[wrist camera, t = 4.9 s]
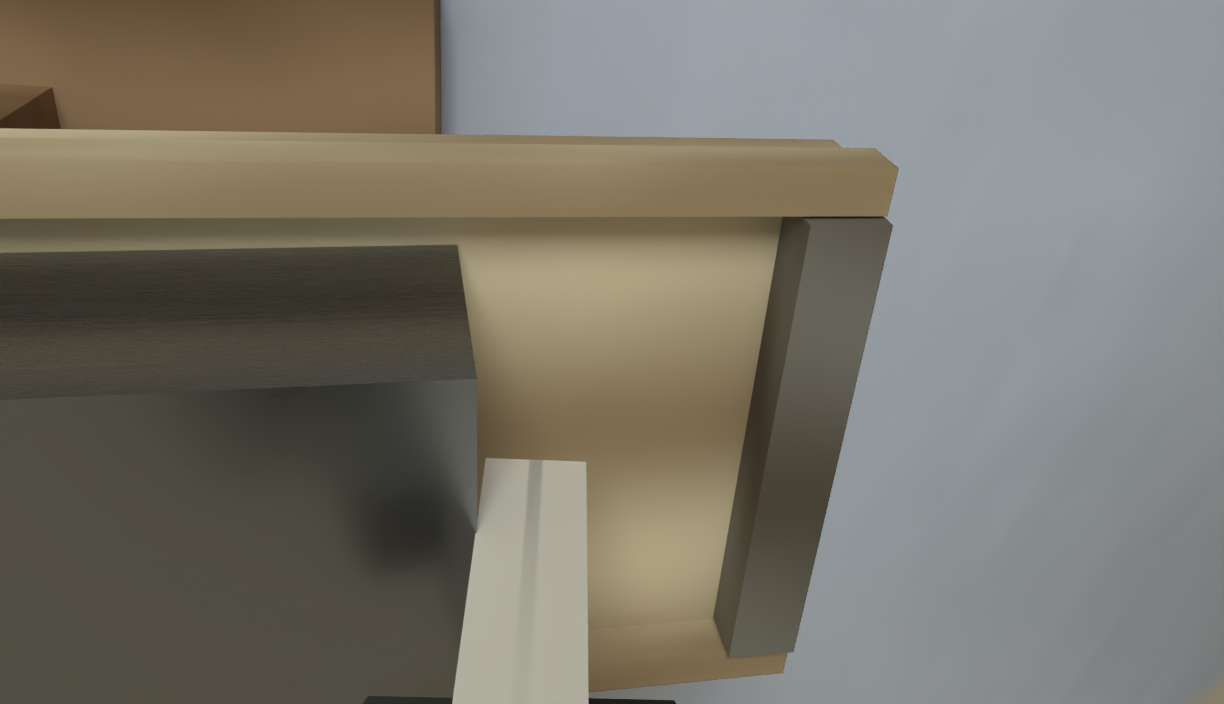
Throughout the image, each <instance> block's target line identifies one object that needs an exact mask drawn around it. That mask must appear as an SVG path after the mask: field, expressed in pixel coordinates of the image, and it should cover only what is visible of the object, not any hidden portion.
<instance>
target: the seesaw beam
mask: <svg viewBox="0 0 1224 704" xmlns="http://www.w3.org/2000/svg"><path fill="white" fill-rule="evenodd" d="M898 169H899V168H898V167H897V166H895V165H894V164H893V163H892V162H891V161H889V160H888V159H887V158H886V157H884V156H883V155H882V154H881V153H880V152H878V151H877V150H876V149H875V148H842V147H841V146H840V145H838V144H837V143H836V142H835V141H834V140H811V139H738V138H666V137H593V136H520V135H447V134H374V133H301V132H229V131H156V130H83V129H10V128H0V253H28V252H82V251H136V250H190V249H244V248H298V247H352V246H406V245H457V246H458V253H459V260H460V267H461V273H462V280H463V287H464V294H465V301H466V308H467V314H468V321H469V328H470V335H471V342H472V348H473V355H474V362H475V369H476V376H477V518H478V511H479V504H480V496H481V489H482V482H483V475H484V467H485V460H486V458H498V459H524V460H554V461H580V462H586V479H587V588H588V692H596V691H606V690H616V689H626V688H636V687H646V686H656V685H666V684H676V683H687V682H697V681H707V680H717V679H727V678H737V677H747V676H757V675H767V674H778V673H783V670H784V665H785V661H786V657H787V653H788V652H793V651H794V647H795V643H796V638H797V634H798V630H799V625H800V621H801V617H802V613H803V608H804V604H805V600H806V595H807V591H808V587H809V583H810V578H811V574H812V570H813V565H814V561H815V557H816V553H817V548H818V544H819V540H820V536H821V531H822V527H823V523H824V518H825V514H826V510H827V506H828V501H829V497H830V493H831V488H832V484H833V480H834V476H835V471H836V467H837V463H838V458H839V454H840V450H841V446H842V441H843V437H844V433H845V428H846V424H847V420H848V416H849V411H850V407H851V403H852V398H853V394H854V390H855V386H856V381H857V377H858V373H859V368H860V364H861V360H862V356H863V351H864V347H865V343H866V339H867V334H868V330H869V326H870V321H871V317H872V313H873V309H874V304H875V300H876V296H877V291H878V287H879V283H880V279H881V274H882V270H883V266H884V261H885V257H886V253H887V249H888V244H889V240H890V236H891V231H892V227H893V225H892V224H891V223H890V222H889V221H888V220H887V219H886V218H885V217H883V216H888V212H889V208H890V204H891V199H892V195H893V191H894V186H895V182H896V177H897V173H898Z"/></svg>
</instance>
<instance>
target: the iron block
mask: <svg viewBox="0 0 1224 704" xmlns="http://www.w3.org/2000/svg"><path fill="white" fill-rule="evenodd" d="M475 533H477V376H476V369H475V362H474V355H473V348H472V342H471V335H470V328H469V321H468V314H467V308H466V301H465V294H464V287H463V280H462V273H461V267H460V260H459V253H458V246H457V245H406V246H352V247H298V248H244V249H190V250H136V251H82V252H28V253H0V704H363V702H364V701H365V700H366V698H367V697H368V696H396V697H437V698H453V693H454V686H455V679H456V671H457V664H458V657H459V650H460V642H461V635H462V628H463V620H464V613H465V606H466V599H467V591H468V584H469V577H470V569H471V562H472V555H473V547H474V540H475Z"/></svg>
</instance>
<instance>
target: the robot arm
mask: <svg viewBox="0 0 1224 704" xmlns="http://www.w3.org/2000/svg"><path fill="white" fill-rule="evenodd" d="M363 704H676V703H675V701H674V700H635V699H593V698H589V696H588V588H587V479H586V462H580V461H554V460H524V459H498V458H486V460H485V467H484V475H483V482H482V489H481V496H480V504H479V511H478V518H477V533H475V540H474V547H473V555H472V562H471V569H470V577H469V584H468V591H467V599H466V606H465V613H464V620H463V628H462V635H461V642H460V650H459V657H458V664H457V671H456V679H455V686H454V693H453V698H437V697H396V696H368V697H367V698H366V700H365V701H364V702H363Z"/></svg>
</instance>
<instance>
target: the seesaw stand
mask: <svg viewBox="0 0 1224 704" xmlns="http://www.w3.org/2000/svg"><path fill="white" fill-rule="evenodd" d="M0 128H10V129H83V130H156V131H229V132H301V133H374V134H441V62H440V0H0Z"/></svg>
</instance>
